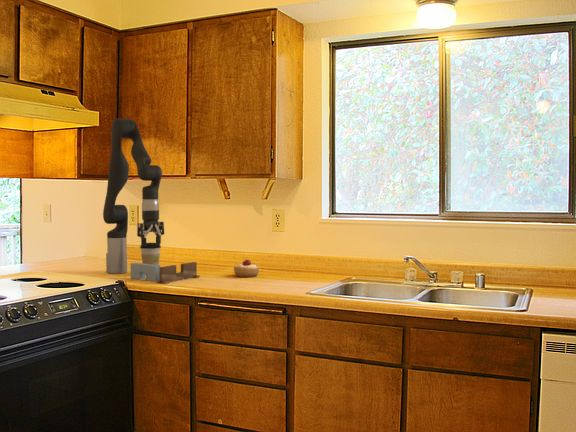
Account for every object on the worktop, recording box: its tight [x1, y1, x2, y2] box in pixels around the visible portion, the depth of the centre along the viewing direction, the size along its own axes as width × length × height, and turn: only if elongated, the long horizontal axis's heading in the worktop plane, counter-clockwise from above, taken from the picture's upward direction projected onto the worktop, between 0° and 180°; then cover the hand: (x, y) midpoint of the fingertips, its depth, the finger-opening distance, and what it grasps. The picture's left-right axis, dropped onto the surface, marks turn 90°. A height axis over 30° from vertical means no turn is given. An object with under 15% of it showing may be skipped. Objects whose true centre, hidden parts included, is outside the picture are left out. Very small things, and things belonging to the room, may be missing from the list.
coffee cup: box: [139, 242, 162, 276], centre depth 298 cm, size 10×10×15 cm
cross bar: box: [130, 262, 161, 282], centre depth 283 cm, size 16×3×7 cm, turn 56°
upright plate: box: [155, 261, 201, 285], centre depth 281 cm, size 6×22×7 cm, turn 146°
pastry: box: [233, 257, 260, 278], centre depth 293 cm, size 12×12×9 cm
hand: (151, 245), depth 280 cm, fingers open, 8 cm apart
